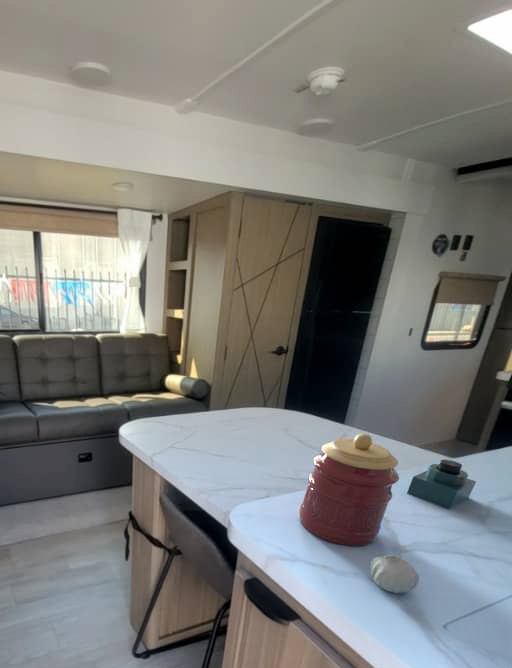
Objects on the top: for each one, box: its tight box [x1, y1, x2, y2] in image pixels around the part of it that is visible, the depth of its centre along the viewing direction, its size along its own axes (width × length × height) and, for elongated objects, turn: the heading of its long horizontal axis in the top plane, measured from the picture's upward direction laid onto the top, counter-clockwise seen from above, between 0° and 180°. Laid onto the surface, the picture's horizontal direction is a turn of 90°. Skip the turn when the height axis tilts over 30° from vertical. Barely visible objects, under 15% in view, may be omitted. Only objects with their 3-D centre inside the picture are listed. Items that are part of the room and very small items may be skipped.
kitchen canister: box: [299, 433, 400, 547], centre depth 69 cm, size 13×13×18 cm
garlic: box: [369, 554, 420, 594], centre depth 57 cm, size 6×5×5 cm
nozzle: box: [438, 459, 463, 475], centre depth 84 cm, size 4×4×2 cm
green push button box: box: [406, 463, 477, 510], centre depth 85 cm, size 10×8×6 cm
